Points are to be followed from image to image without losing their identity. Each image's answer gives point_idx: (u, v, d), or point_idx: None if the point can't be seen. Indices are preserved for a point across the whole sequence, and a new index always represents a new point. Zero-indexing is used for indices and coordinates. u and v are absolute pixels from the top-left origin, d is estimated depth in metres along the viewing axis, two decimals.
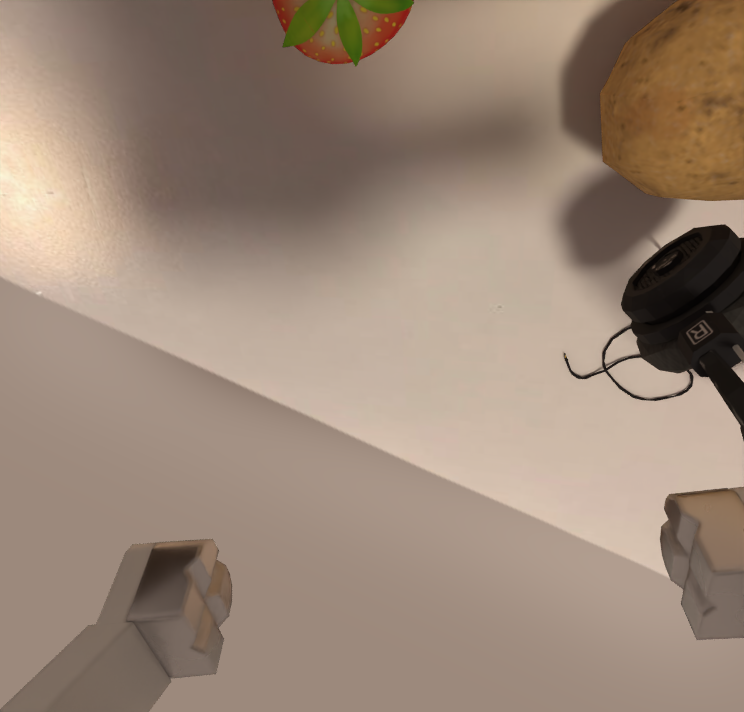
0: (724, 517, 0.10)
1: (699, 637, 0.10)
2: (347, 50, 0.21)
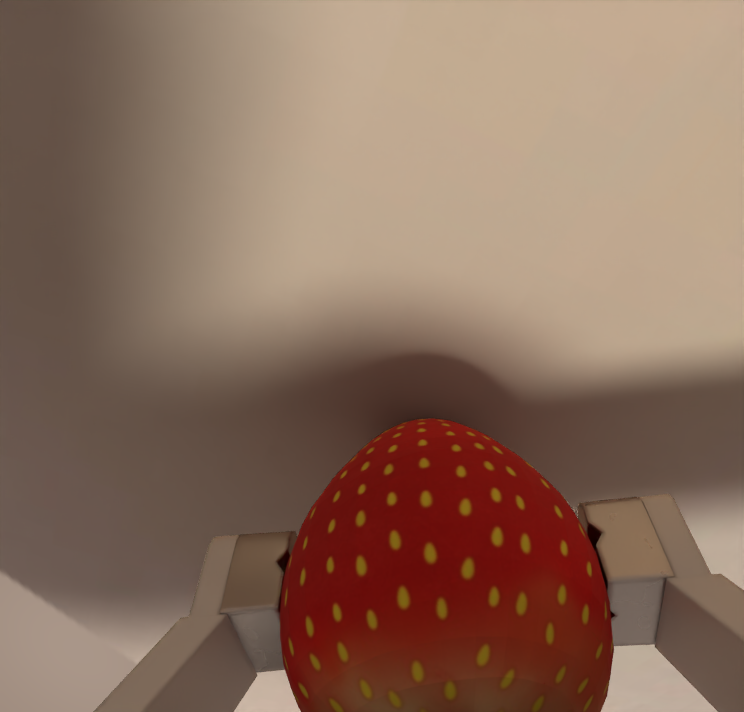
0: (629, 526, 0.10)
1: None
2: None
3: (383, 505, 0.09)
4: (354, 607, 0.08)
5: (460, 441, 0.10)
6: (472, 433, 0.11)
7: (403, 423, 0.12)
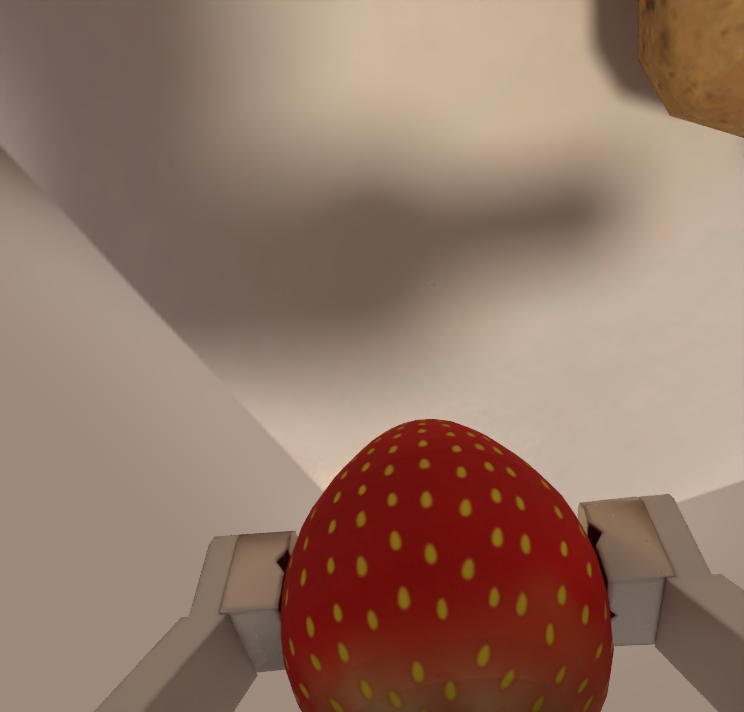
0: (629, 526, 0.10)
1: None
2: None
3: (384, 505, 0.09)
4: (354, 607, 0.08)
5: (460, 442, 0.10)
6: (472, 434, 0.11)
7: (403, 424, 0.12)
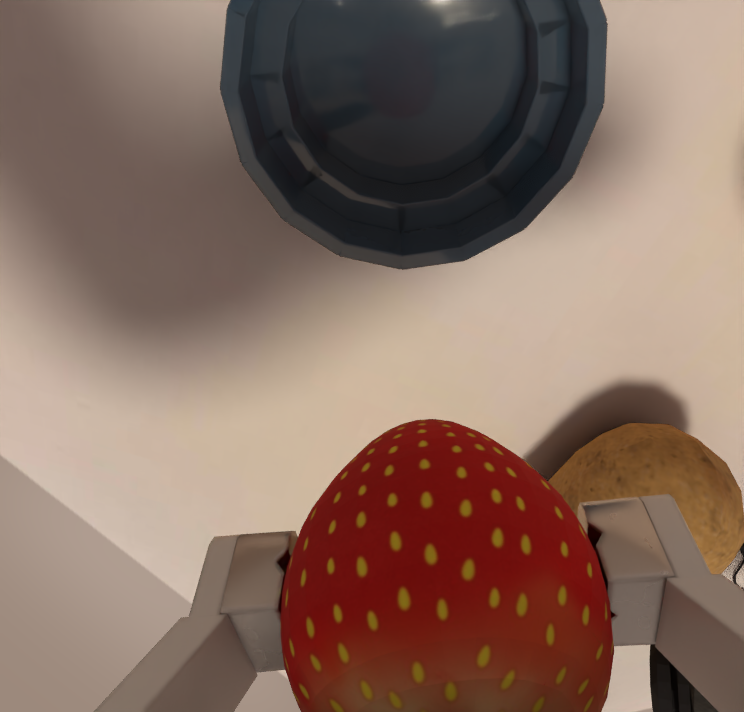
0: (629, 526, 0.10)
1: None
2: None
3: (383, 506, 0.09)
4: (354, 609, 0.08)
5: (460, 442, 0.10)
6: (472, 434, 0.11)
7: (403, 424, 0.12)
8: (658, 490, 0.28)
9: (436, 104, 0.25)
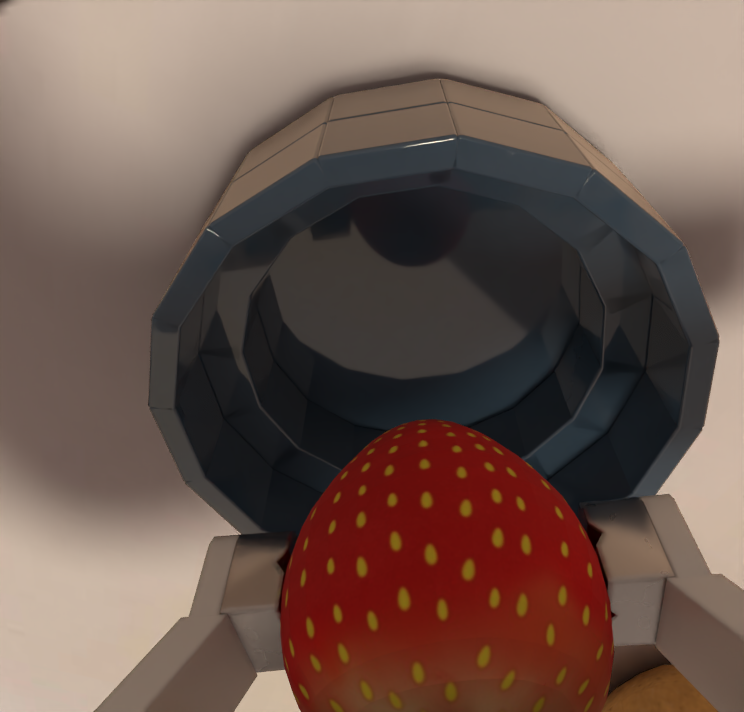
0: (629, 526, 0.10)
1: None
2: None
3: (384, 506, 0.09)
4: (354, 608, 0.08)
5: (460, 442, 0.10)
6: (472, 434, 0.11)
7: (403, 424, 0.12)
8: None
9: (455, 352, 0.18)
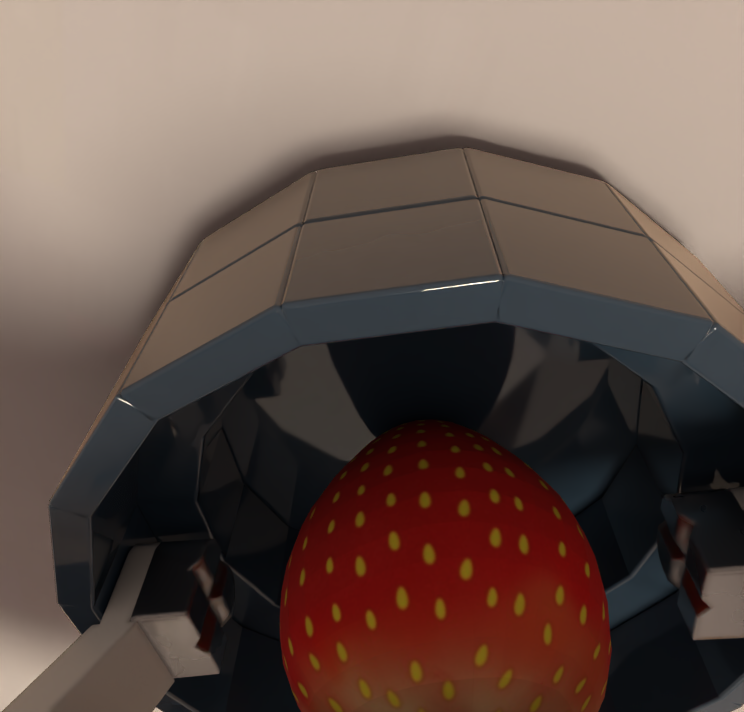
0: (720, 518, 0.10)
1: (695, 637, 0.10)
2: None
3: (382, 505, 0.09)
4: (353, 607, 0.08)
5: (459, 442, 0.10)
6: (471, 434, 0.11)
7: (403, 424, 0.12)
8: None
9: None
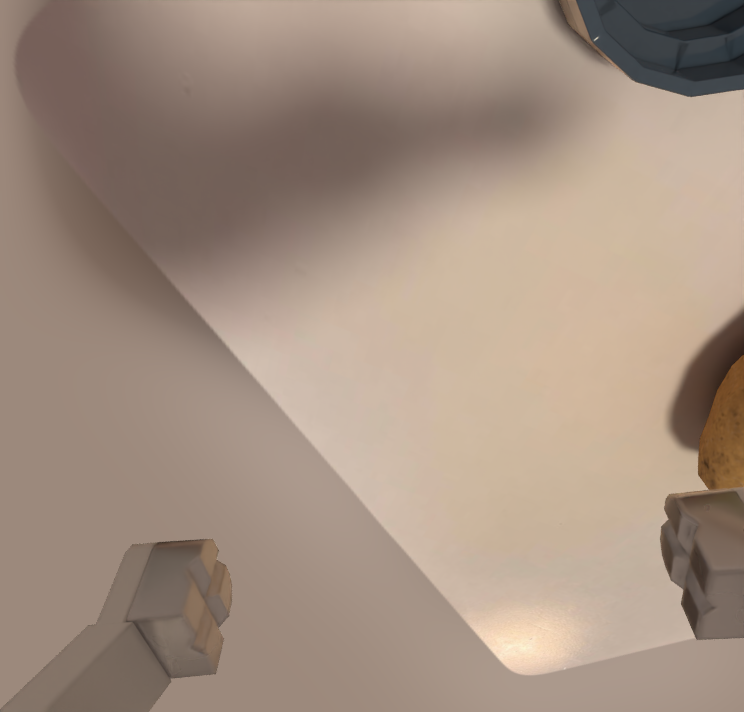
0: (724, 517, 0.10)
1: (698, 637, 0.10)
2: None
3: None
4: None
5: None
6: None
7: None
8: None
9: None
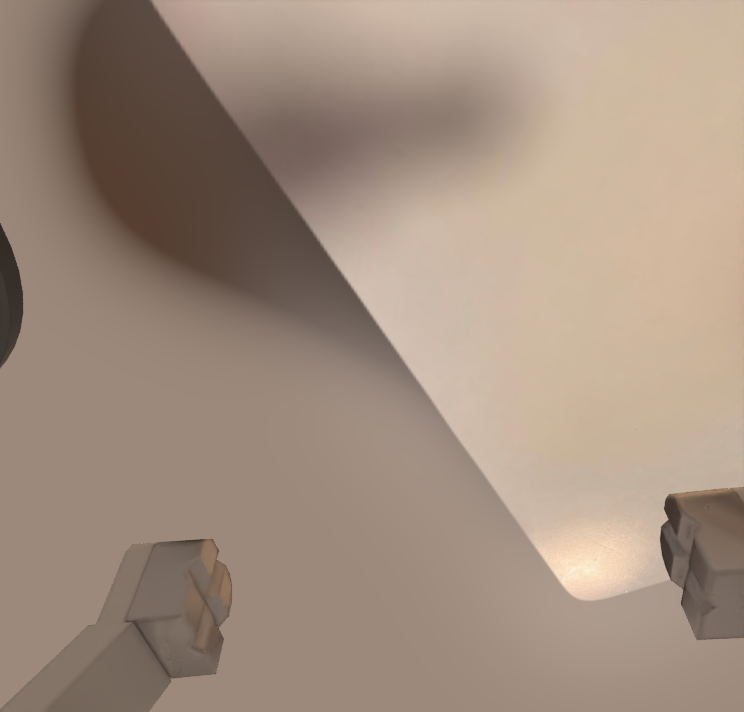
0: (724, 517, 0.10)
1: (698, 637, 0.10)
2: None
3: None
4: None
5: None
6: None
7: None
8: None
9: None
